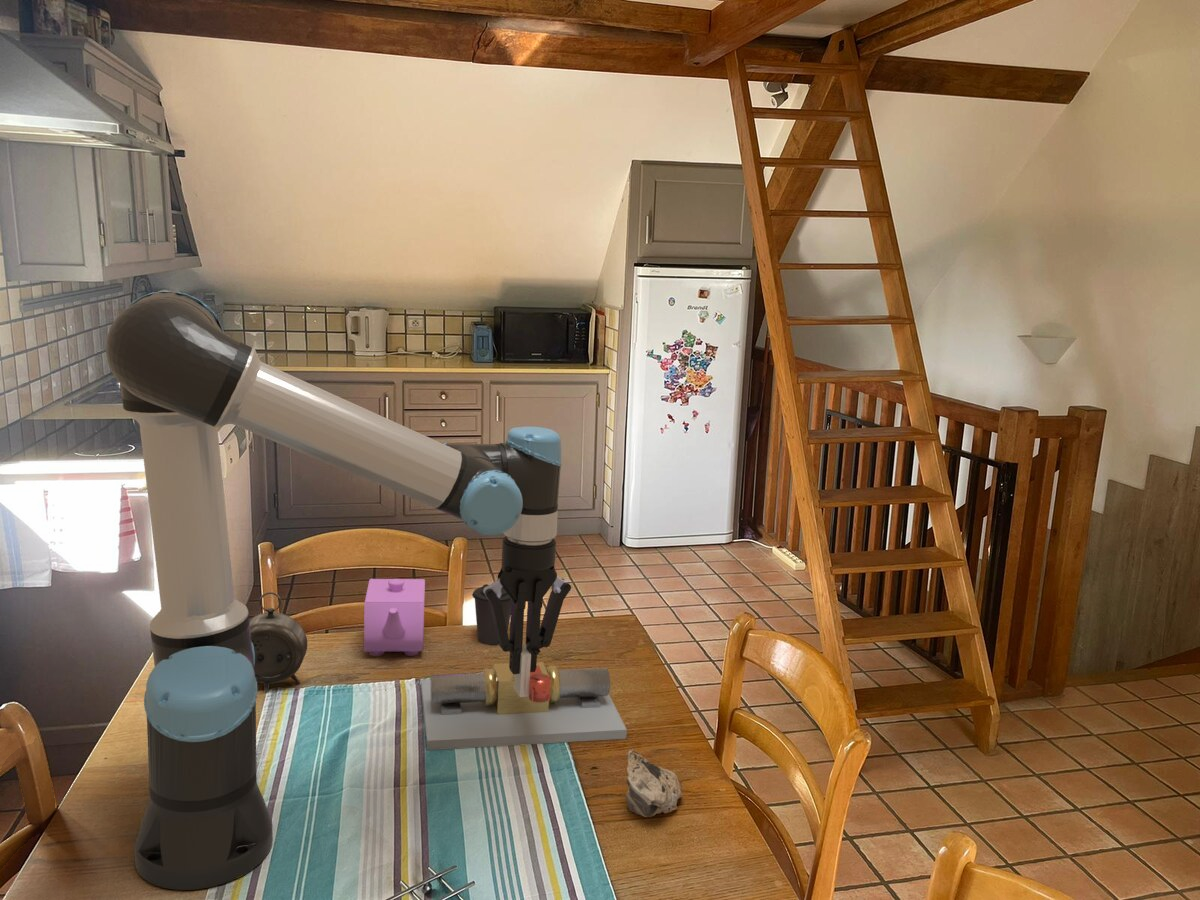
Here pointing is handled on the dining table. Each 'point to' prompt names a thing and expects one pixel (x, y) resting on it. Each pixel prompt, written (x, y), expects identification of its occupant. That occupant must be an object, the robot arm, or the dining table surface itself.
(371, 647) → the pink toy block
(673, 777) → the rock
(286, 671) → the alarm clock
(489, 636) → the coffee cup
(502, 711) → the valve body
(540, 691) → the lever
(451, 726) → the mount board
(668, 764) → the dining table surface
